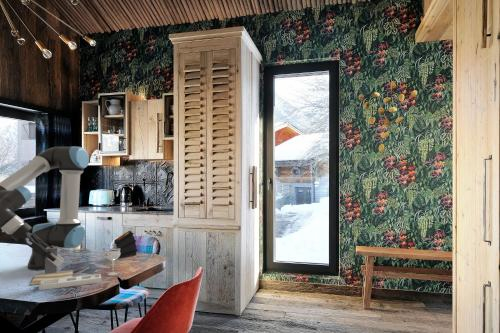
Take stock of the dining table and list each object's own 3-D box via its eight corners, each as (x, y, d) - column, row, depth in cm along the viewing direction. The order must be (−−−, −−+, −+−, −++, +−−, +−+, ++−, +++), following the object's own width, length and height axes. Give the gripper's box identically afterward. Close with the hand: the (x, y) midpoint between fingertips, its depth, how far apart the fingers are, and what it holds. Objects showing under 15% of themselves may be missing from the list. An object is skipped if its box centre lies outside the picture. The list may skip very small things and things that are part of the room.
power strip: (40, 286, 145) (41, 279, 145) (100, 279, 156) (100, 273, 156) (38, 291, 139) (39, 284, 139) (101, 283, 150) (101, 277, 150)
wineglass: (105, 276, 160) (106, 251, 161) (105, 272, 166) (106, 248, 167) (120, 274, 163) (120, 250, 163) (120, 271, 169) (120, 247, 169)
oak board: (35, 276, 159) (35, 274, 159) (72, 272, 166) (72, 270, 166) (30, 286, 145) (30, 283, 145) (71, 281, 152) (71, 279, 152)
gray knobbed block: (45, 271, 145) (46, 245, 146) (57, 269, 147) (57, 244, 148) (44, 273, 141) (45, 247, 142) (56, 272, 143) (57, 246, 144)
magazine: (141, 251, 206) (132, 231, 201) (123, 264, 196) (113, 243, 192) (138, 250, 208) (129, 230, 204) (120, 263, 199) (110, 242, 194)
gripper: (13, 231, 146) (55, 265, 153) (4, 239, 130) (52, 275, 137) (28, 219, 148) (69, 252, 155) (21, 224, 132) (67, 261, 140)
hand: (61, 263), depth 146 cm, fingers closed on gray knobbed block, 4 cm apart
